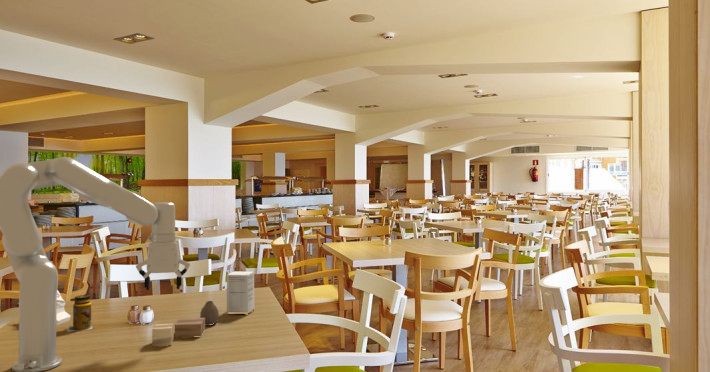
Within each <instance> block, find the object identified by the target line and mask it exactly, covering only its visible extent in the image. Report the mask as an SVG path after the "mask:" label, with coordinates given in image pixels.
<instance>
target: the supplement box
mask: <svg viewBox="0 0 710 372" xmlns="http://www.w3.org/2000/svg"><path fill="white" fill-rule="evenodd" d="M253 308H254V309H255V271H239V270H237V271H235V270H234V271H232V272H230V273H228V274H226V313H227V312H249V311H250V310H252V309H253Z"/></svg>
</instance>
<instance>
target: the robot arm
mask: <svg viewBox="0 0 710 372" xmlns="http://www.w3.org/2000/svg"><path fill="white" fill-rule="evenodd" d="M57 186H62V187H64V188H66V189H68V190H69V191H72V192H74V193H75V194H76V195H79V196H81V197H82V198H83V199H86V200H88V201H89V202H92V203H93V204H96V205H98V206H100V207H104V208H108V209H110V210H112V211H115V212H117V213H119V214H121V215H123V216H124V217H125V218H126V219H127V221H128V222H130V223H131V224H133V225H136V226H137V225H139V226H144V227H146V226H150V225H151V234H150V235H147V237H146V240H150V242H149V243H148V247H147V255H146V260H144V261H142V262H140V263H137V264H136V265H135V268H136V270H137V271H138V274H139V275H141V276H142V277H143V279H144V288H146V291H149V290H150V289H151V276H150V275H151V274H164V273H165V274H166V273H169V274H170V273H175V274H176V290H180V288H181V287H182V282H183V281H182V279H183V278H182V277H183V275H185V274H186V273H187V271H188V270H189V268H190V266H191V263H190V262H187V261H186V260H183V259H182V258H180V254H179V253H180V252H179V246H178V242H177V241H176V206H175V203H174V202H170V201H169V202H166V201H165V202H164V201H162V202H161V201H160V202H159V201H158V202H157V201H156V202H150V201H149V200H147V199H145V198H144V197H141V196H140V195H138V194H136V193H135V192H133V191H130V190H129V189H127V188H125V187H123V186H121V185H119V184H118V183H116V182H114V181H112V180H110V179H108V178H106V177H105V176H104V175H101V174H100V173H98V172H96V171H94V170H93V169H92V168H90V167H88V166H86V165H84V164H83V163H81V162H80V161H77V160H76V159H74V158H72V157H69V156H62V157H61V156H60V157H57V158H55V157H54V158H52V159H51V158H50V159H45V160H39V161H31V162H18V163H14V164H12V165H9V166H7V168H6V169H5V170H4V171H3V172H2V175H1V176H0V231H1V233H2V237H1V243H2V245H3V249H4V250H5V254H6V256H7V258H8V261H9V263H10V266H11V268H12V270H13V272H14V274H15V276H16V280H17V281H18V282H19V296H18V361H15V362H14V363H12V365H11V370H12V371H13V372H43V371H47V370H51V369H55V368H56V367H59V366H60V365H62V362H63V357H61V356H59V355H57V325H56V313H57V311H56V305H57V290H58V288H59V287H58V286H59V272H58V270H57V269H58V268H57V267H56V265H55V264H54V263H53V262H52V261H50V259H49V258H48V256H47V253H46V251H45V249H44V246H43V235H42V233H41V231H40V230H39V227H38V225H37V223H36V220H35V219H34V216H33V213H32V210H31V207H30V205H29V195H30V192H31V191H33V190H39V189H45V188H51V187H57ZM180 265H182V266H184V267H183V269H182V270H180ZM143 266H146V271H145V270H144V269H143V268H142V267H143Z"/></svg>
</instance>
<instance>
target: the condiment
mask: <svg viewBox="0 0 710 372" xmlns="http://www.w3.org/2000/svg"><path fill="white" fill-rule="evenodd" d="M73 300H74V304H73V305H72V308H73V310H72V312H73V313H72V325H71V326H66V327H65V330H66V332H67V333H70V332H76V331H87V330H93V329H94V327H93V326H92V302H91V296H90V295H89V294H81V295H76V296H75V297H74V299H73Z"/></svg>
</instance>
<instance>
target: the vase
mask: <svg viewBox="0 0 710 372" xmlns="http://www.w3.org/2000/svg"><path fill="white" fill-rule="evenodd" d="M218 309H219V308H218V307H217V306H216V305H215V303H214V301H213V300H208V301H206V302H205V304H204V305H203V307H202V308H201V310H200V313H199V318H205V324H213V323H215V324H216V323H217V322H218V320H219V316H220V313H219V310H218Z"/></svg>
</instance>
